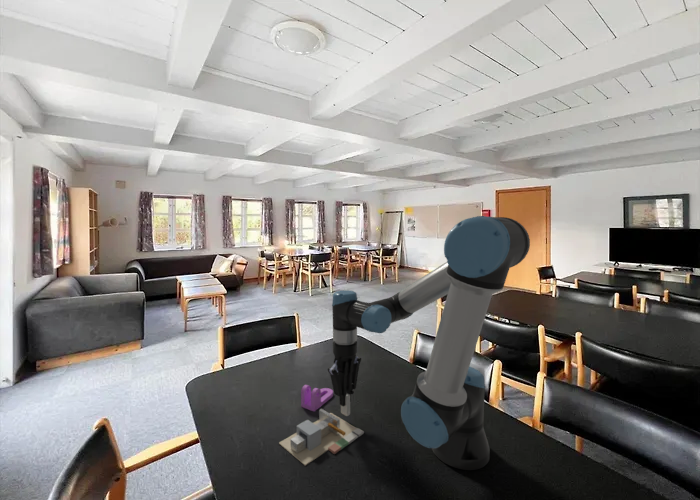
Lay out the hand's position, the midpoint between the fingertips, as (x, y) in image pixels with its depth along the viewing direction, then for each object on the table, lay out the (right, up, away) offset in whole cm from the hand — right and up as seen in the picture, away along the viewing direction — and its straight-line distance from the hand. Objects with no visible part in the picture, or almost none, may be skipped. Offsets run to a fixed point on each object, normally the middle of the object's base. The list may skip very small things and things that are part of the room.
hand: (345, 413), depth 101 cm
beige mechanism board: (-7, -3, -8) cm, 11 cm away
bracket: (-9, -2, +12) cm, 15 cm away
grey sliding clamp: (-8, -3, -10) cm, 13 cm away
